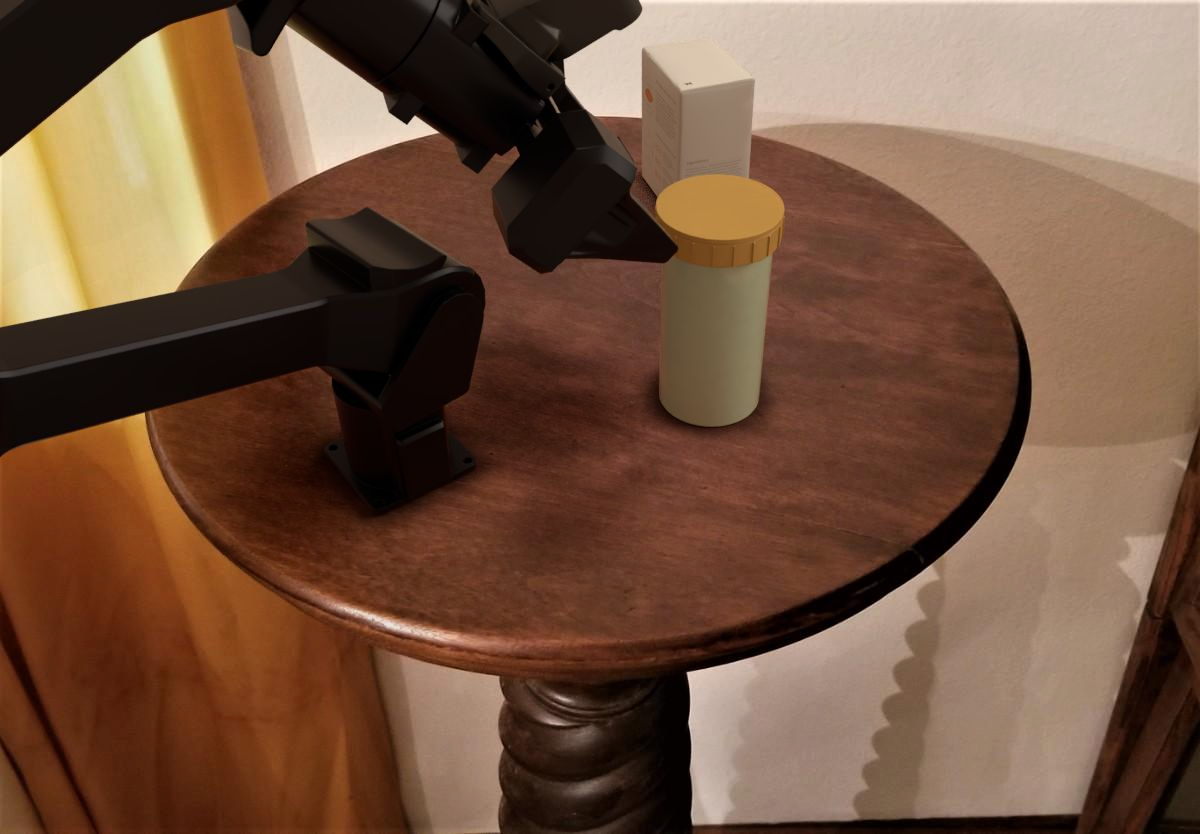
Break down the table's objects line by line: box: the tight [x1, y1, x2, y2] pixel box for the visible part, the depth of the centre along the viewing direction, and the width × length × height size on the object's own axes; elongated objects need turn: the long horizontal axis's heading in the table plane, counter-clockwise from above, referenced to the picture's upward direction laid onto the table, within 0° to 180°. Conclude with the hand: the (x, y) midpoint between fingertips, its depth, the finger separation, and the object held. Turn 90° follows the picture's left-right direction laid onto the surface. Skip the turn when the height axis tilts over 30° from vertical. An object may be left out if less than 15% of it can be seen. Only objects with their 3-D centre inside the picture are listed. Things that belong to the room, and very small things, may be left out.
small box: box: [641, 36, 756, 198], centre depth 83 cm, size 8×6×10 cm
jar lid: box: [653, 174, 786, 268], centre depth 61 cm, size 7×7×2 cm
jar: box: [658, 252, 774, 428], centre depth 65 cm, size 6×6×12 cm
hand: (643, 208), depth 59 cm, fingers open, 9 cm apart
